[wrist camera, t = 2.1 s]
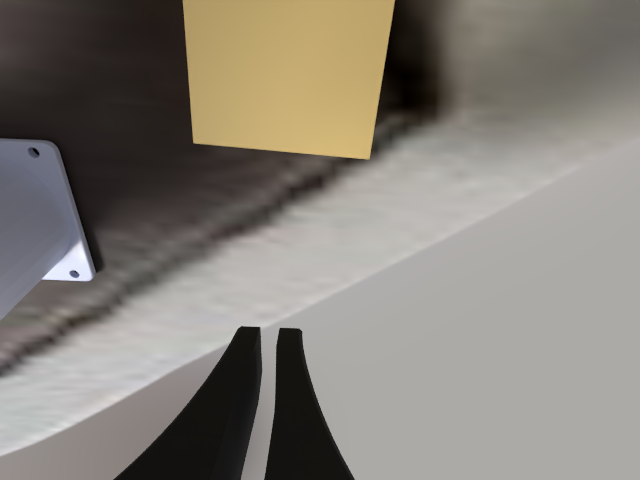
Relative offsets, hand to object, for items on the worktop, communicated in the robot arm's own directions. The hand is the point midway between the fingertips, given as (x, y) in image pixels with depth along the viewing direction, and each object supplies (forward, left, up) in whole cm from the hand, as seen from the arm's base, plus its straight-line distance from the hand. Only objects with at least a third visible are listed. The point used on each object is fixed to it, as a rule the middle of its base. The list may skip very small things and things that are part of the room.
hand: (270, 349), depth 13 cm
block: (0, +8, -10) cm, 13 cm away
